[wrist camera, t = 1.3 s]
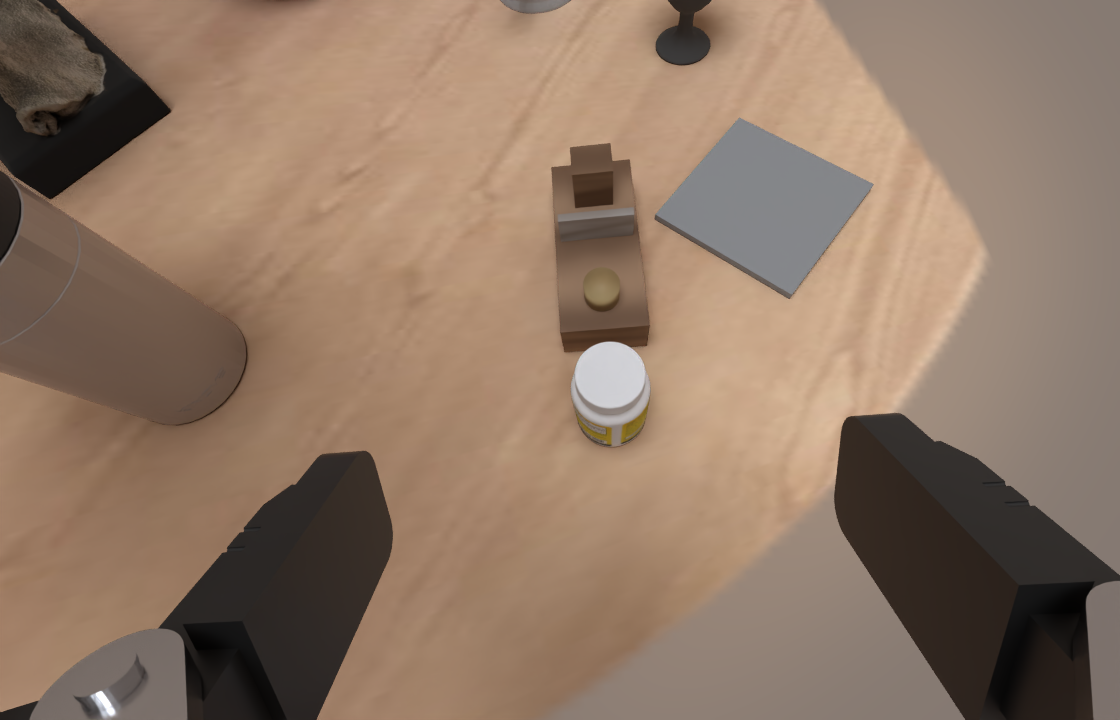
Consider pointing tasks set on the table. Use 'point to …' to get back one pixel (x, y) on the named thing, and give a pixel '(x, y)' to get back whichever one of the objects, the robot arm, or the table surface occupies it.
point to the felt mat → (764, 205)
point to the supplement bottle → (610, 393)
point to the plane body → (598, 252)
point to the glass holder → (534, 5)
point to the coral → (63, 96)
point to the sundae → (684, 35)
